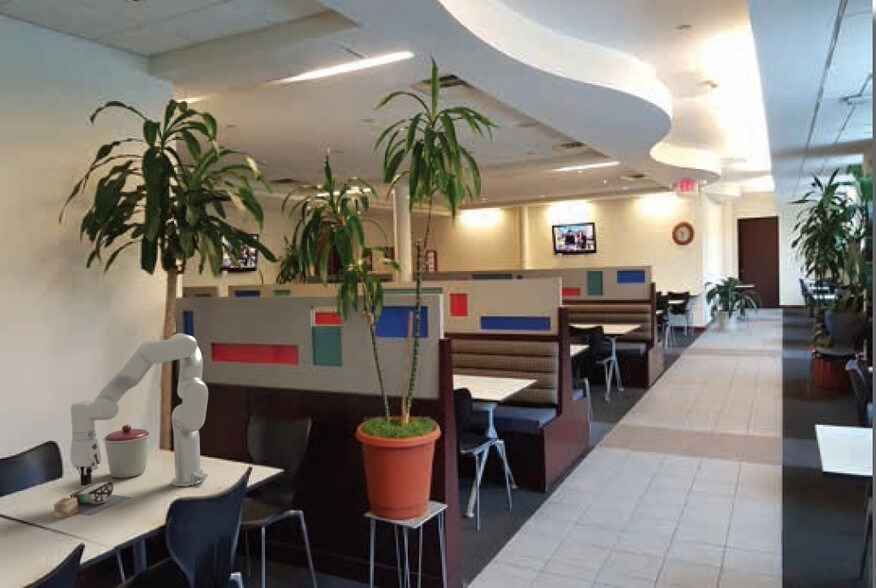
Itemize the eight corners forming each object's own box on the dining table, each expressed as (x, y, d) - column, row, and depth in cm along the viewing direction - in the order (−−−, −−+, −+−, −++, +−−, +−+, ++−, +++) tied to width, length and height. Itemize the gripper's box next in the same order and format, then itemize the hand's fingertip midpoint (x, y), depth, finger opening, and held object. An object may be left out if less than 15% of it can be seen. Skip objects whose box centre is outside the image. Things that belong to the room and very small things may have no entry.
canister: (94, 479, 261) (92, 428, 260) (130, 466, 278) (128, 418, 277) (126, 483, 254) (124, 431, 253) (161, 470, 271) (159, 421, 270)
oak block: (78, 511, 224) (76, 497, 223) (68, 517, 219) (67, 504, 218) (65, 511, 224) (63, 497, 224) (55, 517, 219) (53, 504, 219)
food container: (70, 513, 228) (92, 510, 225) (66, 496, 227) (87, 493, 225) (97, 498, 240) (118, 495, 237) (93, 482, 239) (114, 480, 236)
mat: (131, 498, 237) (131, 497, 237) (90, 515, 220) (90, 514, 220) (107, 495, 241) (107, 493, 241) (65, 512, 224) (65, 511, 224)
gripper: (108, 433, 233) (110, 483, 233) (77, 431, 238) (79, 479, 238) (90, 439, 226) (92, 489, 226) (59, 436, 231) (62, 486, 231)
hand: (86, 484), depth 232 cm, fingers closed
